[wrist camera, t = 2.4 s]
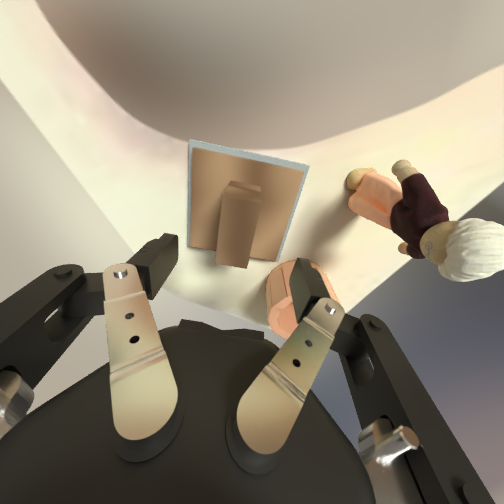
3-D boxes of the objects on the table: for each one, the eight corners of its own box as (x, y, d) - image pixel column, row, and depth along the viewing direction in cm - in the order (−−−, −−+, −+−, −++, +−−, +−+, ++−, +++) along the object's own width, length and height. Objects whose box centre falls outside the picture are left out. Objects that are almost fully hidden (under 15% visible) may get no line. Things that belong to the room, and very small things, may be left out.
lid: (192, 242, 22) (173, 274, 17) (194, 147, 17) (169, 153, 12) (275, 257, 23) (280, 291, 18) (302, 170, 18) (320, 185, 13)
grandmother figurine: (330, 173, 18) (433, 230, 8) (370, 146, 17) (560, 170, 6) (358, 231, 22) (458, 329, 11) (394, 213, 20) (546, 302, 10)
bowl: (260, 299, 28) (261, 335, 23) (274, 254, 24) (279, 287, 19) (313, 307, 28) (324, 344, 24) (335, 265, 24) (355, 299, 19)
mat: (189, 243, 23) (187, 245, 22) (191, 139, 17) (189, 139, 17) (277, 258, 24) (278, 261, 23) (308, 164, 18) (309, 166, 18)
